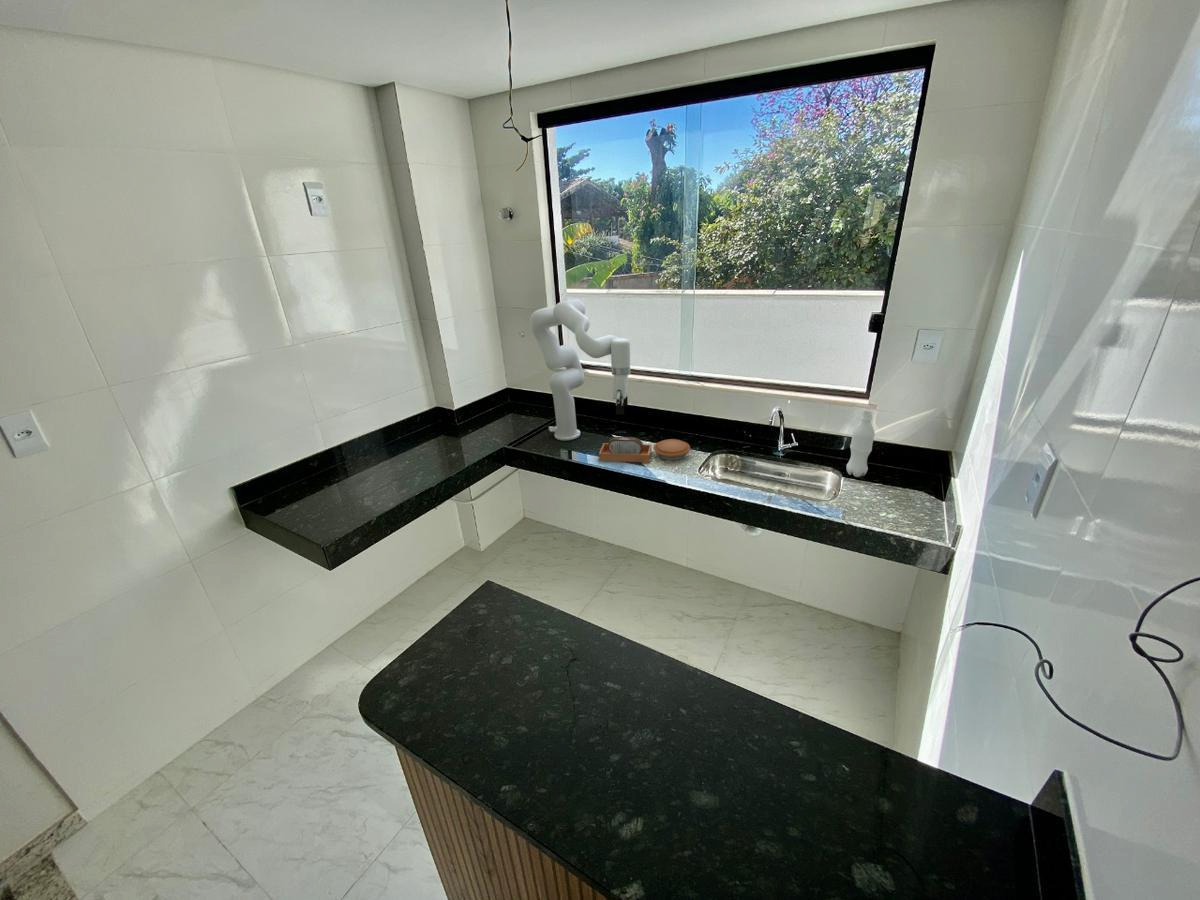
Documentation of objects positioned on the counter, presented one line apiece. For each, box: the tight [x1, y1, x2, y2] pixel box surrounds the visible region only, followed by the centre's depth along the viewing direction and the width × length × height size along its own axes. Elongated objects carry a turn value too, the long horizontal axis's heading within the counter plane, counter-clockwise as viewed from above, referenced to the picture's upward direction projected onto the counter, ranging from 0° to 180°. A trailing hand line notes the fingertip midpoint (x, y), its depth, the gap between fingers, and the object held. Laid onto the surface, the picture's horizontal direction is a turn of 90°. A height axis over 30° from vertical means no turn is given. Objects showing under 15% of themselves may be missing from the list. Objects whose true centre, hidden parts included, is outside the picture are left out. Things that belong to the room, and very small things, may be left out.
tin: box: [608, 436, 643, 454], centre depth 206 cm, size 15×3×8 cm, turn 78°
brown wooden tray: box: [598, 442, 653, 464], centre depth 208 cm, size 21×10×4 cm, turn 78°
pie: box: [653, 438, 691, 461], centre depth 206 cm, size 15×16×5 cm
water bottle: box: [845, 410, 876, 478], centre depth 178 cm, size 7×7×25 cm
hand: (621, 409), depth 201 cm, fingers open, 9 cm apart
